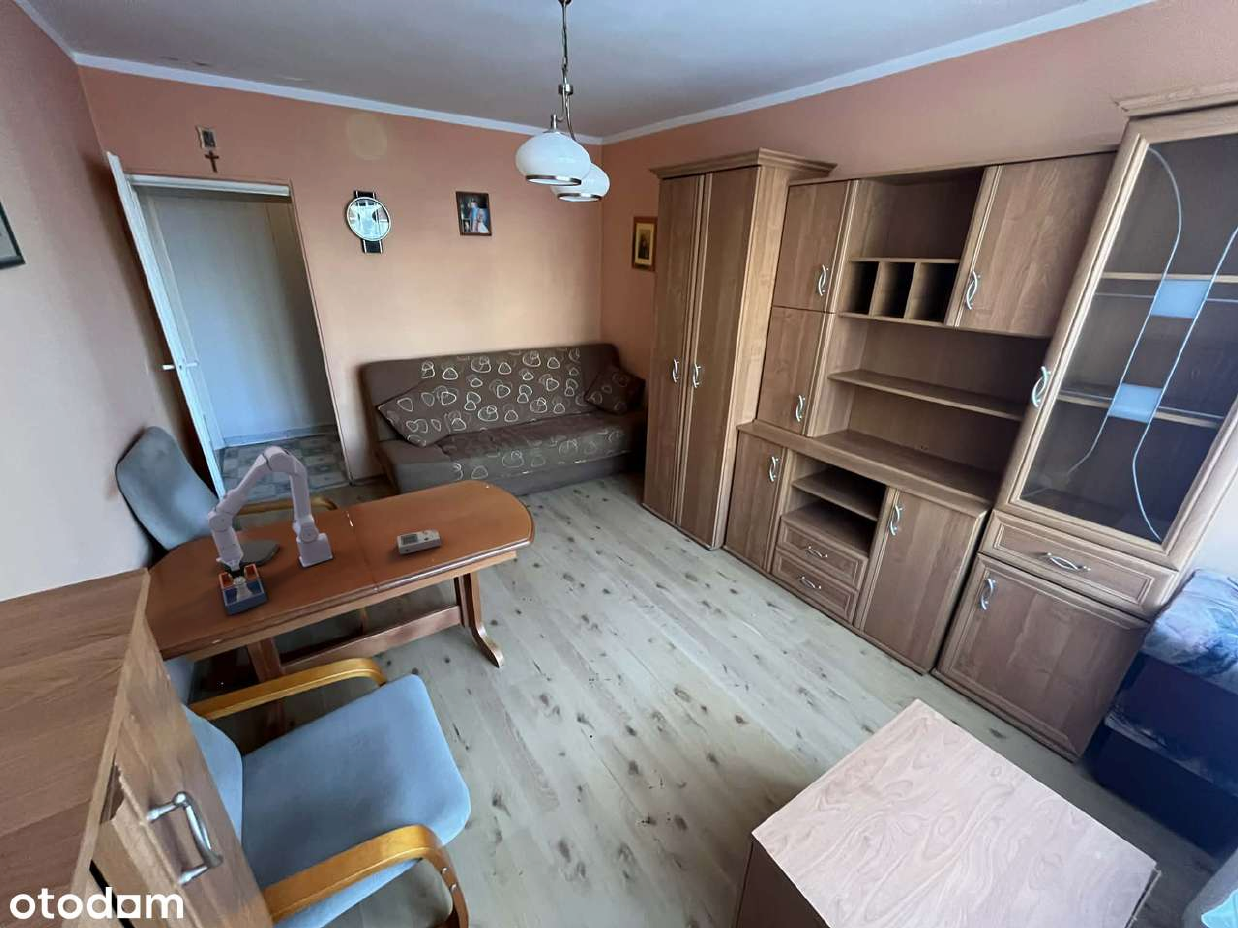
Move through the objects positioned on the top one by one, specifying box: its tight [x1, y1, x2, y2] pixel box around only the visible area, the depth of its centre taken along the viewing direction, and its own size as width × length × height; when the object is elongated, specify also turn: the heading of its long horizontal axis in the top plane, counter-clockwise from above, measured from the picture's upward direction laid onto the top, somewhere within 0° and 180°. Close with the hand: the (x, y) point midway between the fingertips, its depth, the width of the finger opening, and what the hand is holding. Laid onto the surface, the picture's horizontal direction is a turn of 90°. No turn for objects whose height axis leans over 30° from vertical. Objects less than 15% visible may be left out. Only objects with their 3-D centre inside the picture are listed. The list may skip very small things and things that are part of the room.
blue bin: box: [221, 577, 269, 616], centre depth 162 cm, size 10×10×4 cm
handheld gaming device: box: [396, 529, 442, 555], centre depth 193 cm, size 9×15×4 cm, turn 116°
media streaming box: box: [221, 539, 279, 568], centre depth 185 cm, size 15×15×3 cm
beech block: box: [229, 569, 249, 585], centre depth 169 cm, size 4×4×4 cm
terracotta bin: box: [218, 564, 260, 591], centre depth 170 cm, size 10×10×4 cm
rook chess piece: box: [233, 577, 254, 601], centre depth 161 cm, size 4×4×8 cm
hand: (239, 578), depth 170 cm, fingers closed on beech block, 4 cm apart
